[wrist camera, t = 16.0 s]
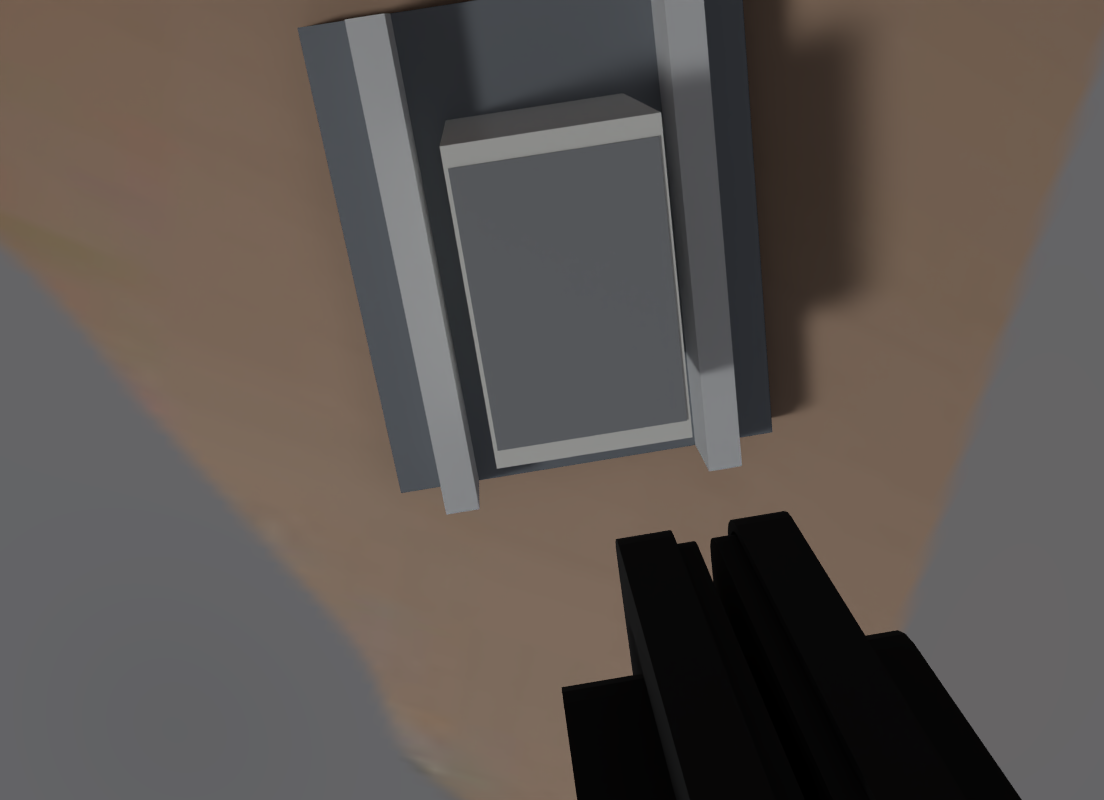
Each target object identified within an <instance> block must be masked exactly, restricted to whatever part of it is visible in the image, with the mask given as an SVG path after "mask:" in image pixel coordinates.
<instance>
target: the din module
mask: <svg viewBox="0 0 1104 800" xmlns="http://www.w3.org/2000/svg"><path fill="white" fill-rule="evenodd" d="M439 147H440V152H441V158H442V164H443V169H444V175H445V180H446V186H447V192H448V197H449V203H450V208H451V214H452V220H453V225H454V231H455V236H456V242H457V248H458V253H459V259H460V265H461V270H462V276H463V281H464V287H465V293H466V298H467V304H468V309H469V315H470V321H471V326H472V332H473V337H474V343H475V349H476V354H477V360H478V365H479V371H480V377H481V382H482V388H483V394H484V399H485V405H486V410H487V416H488V422H489V427H490V433H491V438H492V444H493V450H494V455H495V461H496V466H497V469H499V468H505V467H511V466H517V465H523V464H530V463H536V462H542V461H548V460H555V459H561V458H567V457H573V456H579V455H586V454H592V453H598V452H604V451H611V450H617V449H623V448H629V447H635V446H642V445H648V444H654V443H660V442H667V441H673V440H679V439H685V438H691V437H693V436H692V425H691V415H690V405H689V395H688V384H687V374H686V364H685V353H684V343H683V333H682V323H681V312H680V302H679V292H678V282H677V271H676V261H675V251H674V240H673V230H672V220H671V210H670V199H669V189H668V179H667V168H666V158H665V148H664V138H663V127H662V117H661V112H659V111H657V110H655V109H653V108H651V107H649V106H647V105H645V104H644V103H642V102H640V101H638V100H636V99H634V98H632V97H630V96H628V95H626V94H624V93H620V94H614V95H607V96H601V97H594V98H588V99H581V100H575V101H568V102H562V103H555V104H549V105H542V106H536V107H529V108H523V109H516V110H510V111H503V112H497V113H490V114H484V115H477V116H470V117H464V118H457V119H451V120H446V121H445V125H444V130H443V134H442V138H441V142H440V146H439Z"/></svg>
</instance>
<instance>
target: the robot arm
mask: <svg viewBox="0 0 1104 800" xmlns="http://www.w3.org/2000/svg"><path fill="white" fill-rule="evenodd" d="M710 548H711V561H712V572H713V581H712V578H711V576H710V574H709V571H708V569H707V566H706V564H705V562H704V559H703V557H702V555H701V552H700V550H699V547H698V545H697V543H696V542H695V541H692V542H686V543H680V544H677V543H676V540H675V538H674V535H673V533H672V531H670V530H668V531H662V532H656V533H650V534H644V535H638V536H632V537H626V538H620V539H616V552H617V560H618V568H619V575H620V582H621V590H622V597H623V604H624V612H625V619H626V626H627V634H628V641H629V648H630V656H631V663H632V671H633V675H632V676H626V677H620V678H614V679H608V680H602V681H597V682H591V683H585V684H579V685H573V686H567V687H562V694H563V702H564V709H565V716H566V723H567V730H568V737H569V744H570V751H571V758H572V766H573V773H574V780H575V787H576V794H577V800H1021V798H1020V797H1019V795H1018V794H1017V792H1016V791H1015V790H1014V788H1013V787H1012V785H1011V784H1010V782H1009V781H1008V780H1007V778H1006V776H1005V775H1004V774H1003V772H1002V771H1001V769H1000V768H999V766H998V765H997V763H996V762H995V760H994V759H993V758H992V756H991V755H990V753H989V752H988V751H987V749H986V748H985V746H984V744H983V743H982V742H981V740H980V739H979V737H978V736H977V734H976V733H975V732H974V730H973V729H972V727H971V726H970V724H969V723H968V721H967V720H966V718H965V717H964V715H963V714H962V713H961V711H960V710H959V708H958V707H957V705H956V704H955V702H954V701H953V700H952V698H951V697H950V695H949V694H948V692H947V691H946V689H945V688H944V687H943V685H942V683H941V682H940V681H939V679H938V678H937V676H936V675H935V673H934V672H933V670H932V669H931V668H930V666H929V665H928V663H927V662H926V660H925V659H924V657H923V656H922V655H921V653H920V652H919V650H918V649H917V647H916V646H915V644H914V643H913V642H912V641H911V640H910V639H909V637H908V636H907V635H906V634H905V633H902V632H900V631H898V630H897V631H891V632H885V633H879V634H873V635H867V636H865V634H864V633H863V631H862V630H861V628H860V626H859V625H858V623H857V622H856V620H855V618H854V617H853V615H852V614H851V612H850V610H849V609H848V607H847V606H846V604H845V602H844V601H843V599H842V598H841V596H840V594H839V593H838V591H837V589H836V588H835V586H834V585H833V583H832V581H831V580H830V578H829V577H828V575H827V573H826V572H825V570H824V569H823V567H822V565H821V564H820V562H819V561H818V559H817V557H816V556H815V554H814V552H813V551H812V549H811V548H810V546H809V544H808V543H807V541H806V540H805V538H804V536H803V535H802V533H801V532H800V530H799V528H798V527H797V525H796V524H795V522H794V520H793V519H792V517H791V516H790V515H789V513H788V512H786V511H782V512H776V513H770V514H764V515H758V516H752V517H746V518H740V519H734V520H730V522H729V524H728V536H722V537H716V538H712V539H711V544H710Z"/></svg>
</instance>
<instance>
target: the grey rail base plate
mask: <svg viewBox="0 0 1104 800" xmlns="http://www.w3.org/2000/svg"><path fill="white" fill-rule="evenodd" d="M298 32H299V37H300V41H301V46H302V50H303V55H304V59H305V64H306V68H307V73H308V77H309V82H310V86H311V91H312V95H313V100H314V104H315V109H316V113H317V118H318V122H319V127H320V131H321V136H322V140H323V145H324V149H325V153H326V158H327V162H328V167H329V171H330V176H331V180H332V185H333V189H334V194H335V198H336V203H337V207H338V212H339V216H340V221H341V225H342V230H343V234H344V239H345V243H346V248H347V252H348V257H349V261H350V266H351V270H352V275H353V279H354V284H355V288H356V292H357V297H358V301H359V306H360V310H361V315H362V319H363V324H364V328H365V333H366V337H367V342H368V346H369V351H370V355H371V360H372V364H373V369H374V373H375V378H376V382H377V387H378V391H379V396H380V400H381V405H382V409H383V414H384V418H385V422H386V427H387V431H388V436H389V440H390V445H391V449H392V454H393V458H394V463H395V467H396V472H397V476H398V481H399V485H400V490H401V493H404V492H410V491H416V490H422V489H428V488H435V487H441V490H442V495H443V500H444V505H445V510H446V514H452V513H459V512H465V511H471V510H477V509H479V480H483V479H489V478H496V477H502V476H508V475H514V474H520V473H526V472H532V471H538V470H544V469H550V468H557V467H563V466H569V465H575V464H581V463H587V462H593V461H599V460H605V459H612V458H618V457H624V456H630V455H636V454H642V453H648V452H654V451H660V450H666V449H673V448H679V447H685V446H691V445H696V447H697V449H698V451H699V453H700V455H701V456H702V458H703V460H704V462H705V464H706V466H707V468H708V470H709V471H714V470H720V469H726V468H732V467H738V466H742V461H741V449H740V437H746V436H752V435H758V434H764V433H770V432H772V422H771V407H770V392H769V378H768V363H767V349H766V334H765V319H764V305H763V290H762V276H761V261H760V247H759V232H758V217H757V203H756V188H755V174H754V159H753V144H752V130H751V115H750V101H749V86H748V71H747V57H746V42H745V28H744V13H743V0H475V1H468V2H462V3H455V4H449V5H443V6H436V7H430V8H423V9H417V10H410V11H404V12H397V13H391V14H387V13H384V14H377V15H371V16H364V17H358V18H351V19H345V21H339V22H333V23H326V24H320V25H313V26H307V27H300V28H298ZM620 93H624V94H626V95H628V96H630V97H632V98H634V99H636V100H638V101H640V102H642V103H644V104H645V105H647V106H649V107H651V108H653V109H655V110H657V111H659V112H661V117H662V127H663V138H664V148H665V158H666V168H667V179H668V189H669V199H670V210H671V220H672V230H673V240H674V251H675V261H676V271H677V282H678V292H679V302H680V312H681V323H682V333H683V343H684V353H685V364H686V374H687V384H688V395H689V405H690V415H691V425H692V436H693V437H691V438H685V439H679V440H673V441H667V442H660V443H654V444H648V445H642V446H635V447H629V448H623V449H617V450H611V451H604V452H598V453H592V454H586V455H579V456H573V457H567V458H561V459H555V460H548V461H542V462H536V463H530V464H523V465H517V466H511V467H505V468H499V469H497V466H496V461H495V455H494V450H493V444H492V438H491V433H490V427H489V422H488V416H487V410H486V405H485V399H484V394H483V388H482V382H481V377H480V371H479V365H478V360H477V354H476V349H475V343H474V337H473V332H472V326H471V321H470V315H469V309H468V304H467V298H466V293H465V287H464V281H463V276H462V270H461V265H460V259H459V253H458V248H457V242H456V236H455V231H454V225H453V220H452V214H451V208H450V203H449V197H448V192H447V186H446V180H445V175H444V169H443V164H442V158H441V152H440V147H439V146H440V142H441V138H442V134H443V130H444V125H445V121H446V120H451V119H457V118H464V117H470V116H477V115H484V114H490V113H497V112H503V111H510V110H516V109H523V108H529V107H536V106H542V105H549V104H555V103H562V102H568V101H575V100H581V99H588V98H594V97H601V96H607V95H614V94H620Z"/></svg>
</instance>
